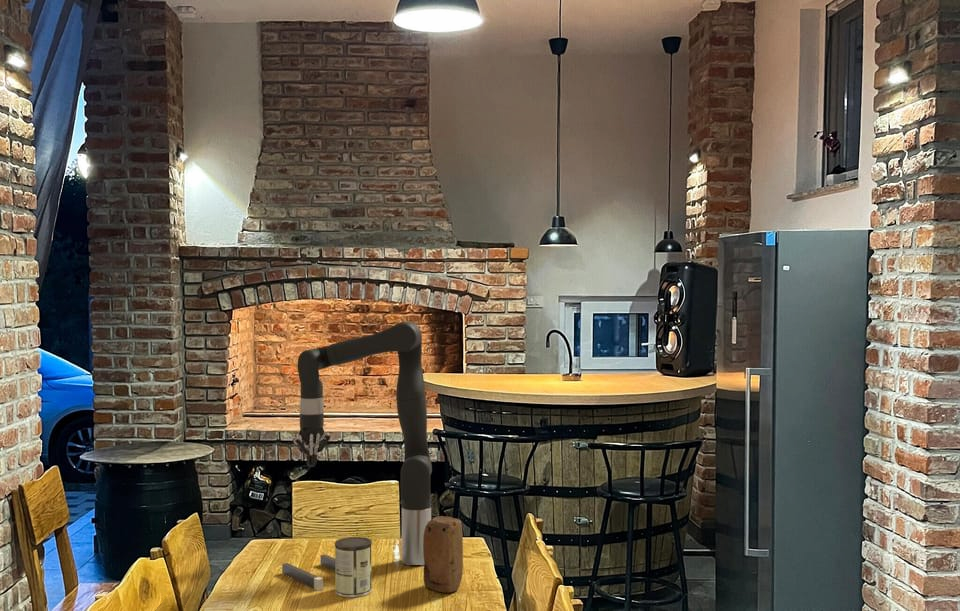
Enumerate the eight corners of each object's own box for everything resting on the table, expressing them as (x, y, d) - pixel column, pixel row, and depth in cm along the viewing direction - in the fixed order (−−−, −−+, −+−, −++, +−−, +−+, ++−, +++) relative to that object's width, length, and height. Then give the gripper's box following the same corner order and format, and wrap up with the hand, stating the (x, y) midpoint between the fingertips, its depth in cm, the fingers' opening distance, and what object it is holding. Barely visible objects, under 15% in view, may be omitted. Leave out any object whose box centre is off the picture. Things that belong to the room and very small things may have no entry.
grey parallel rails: (325, 564, 271) (325, 554, 271) (361, 579, 256) (361, 569, 256) (282, 573, 261) (282, 563, 261) (317, 590, 246) (317, 579, 246)
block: (465, 588, 248) (465, 518, 248) (450, 596, 242) (450, 524, 242) (434, 581, 254) (434, 513, 254) (418, 589, 248) (419, 518, 248)
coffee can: (345, 584, 252) (345, 535, 252) (377, 587, 249) (377, 538, 249) (328, 595, 242) (328, 544, 242) (361, 599, 239) (361, 548, 239)
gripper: (299, 415, 271) (299, 470, 271) (335, 411, 280) (335, 465, 280) (287, 412, 276) (287, 467, 276) (323, 409, 285) (323, 462, 285)
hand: (311, 466), depth 278 cm, fingers closed
